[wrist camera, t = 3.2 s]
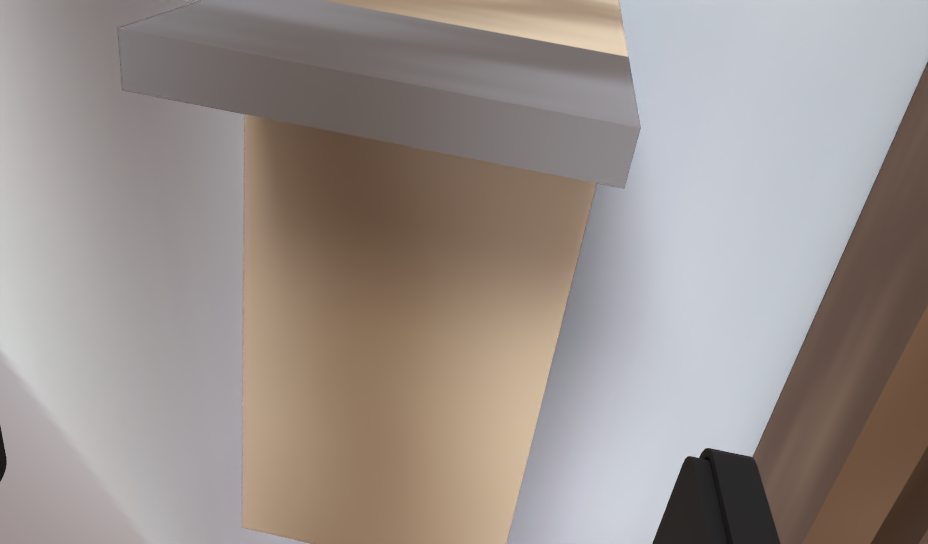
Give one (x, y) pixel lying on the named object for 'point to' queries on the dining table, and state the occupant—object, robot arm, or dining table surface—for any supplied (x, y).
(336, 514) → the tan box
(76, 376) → the dining table surface
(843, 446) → the dock
